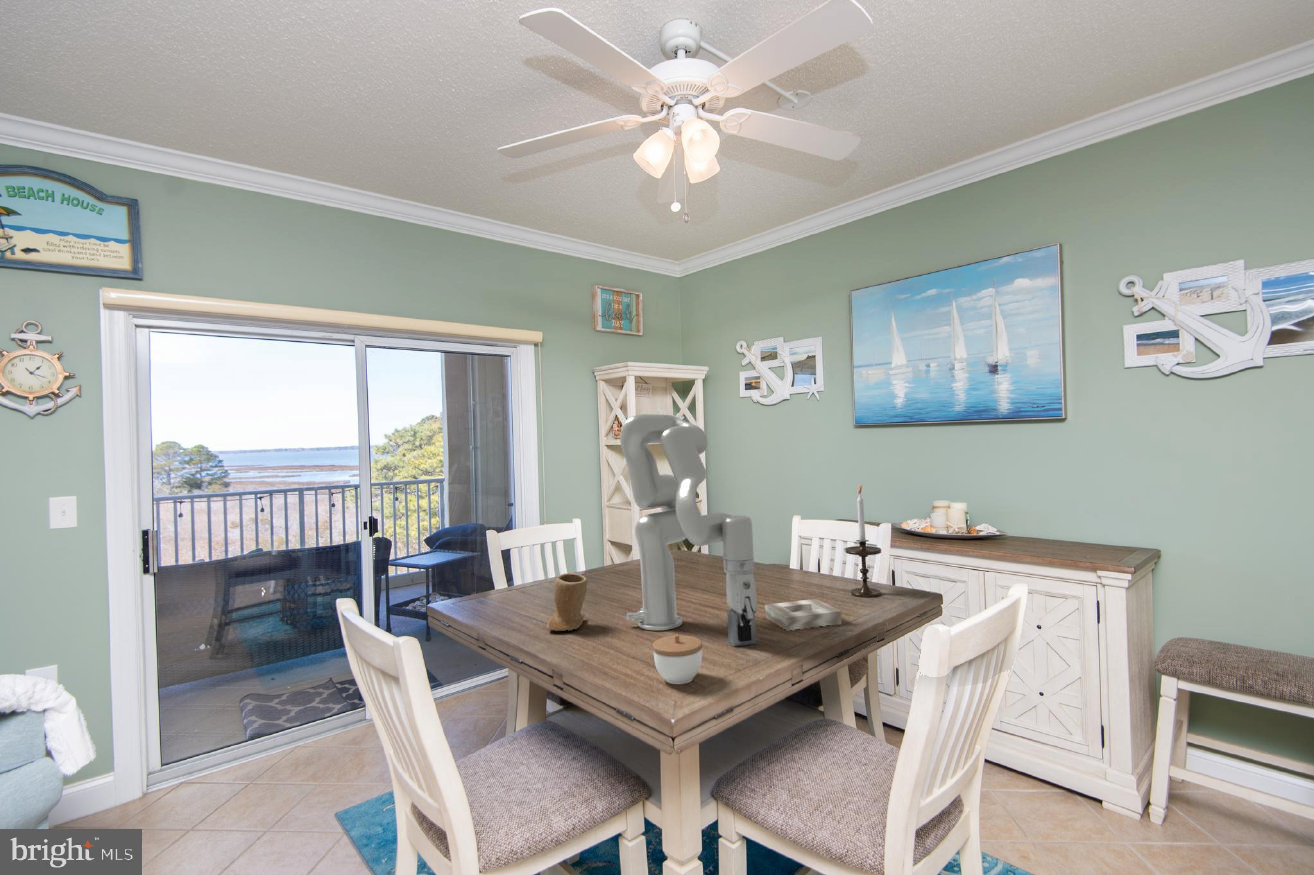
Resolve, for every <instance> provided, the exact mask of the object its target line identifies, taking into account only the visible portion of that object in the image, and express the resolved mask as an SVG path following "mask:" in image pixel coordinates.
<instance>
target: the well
mask: <svg viewBox="0 0 1314 875" xmlns="http://www.w3.org/2000/svg"><path fill="white" fill-rule="evenodd" d="M764 610H765V618H766V619H768V620H769V621H771V622H773V624H775V623H776V624H775V625H777V626H778V625H779V626H778V627H780V628H781V627H782V630H784V629H785V630H784V631H785V632H790V630H792V631H796V630H795V629H800V630H804V628H807V629H811V628H810V627H815V628H820V627H819V626H823V627H827V626H826V625H830V626H836V625H837V626H838V625H842V611H841V610H839V609H837V608H835V607H833V606H832V605H829V604H827V603H825V602H823V601H821V600H819V599H817V598H813V599H812V598H811V599H810V598H809V599H805V600H804V599H803V600H794V601H785V602H778V603H770V604H764Z"/></svg>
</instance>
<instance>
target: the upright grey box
mask: <svg viewBox="0 0 1314 875" xmlns="http://www.w3.org/2000/svg"><path fill="white" fill-rule="evenodd" d="M742 611H743V612H745V610H742ZM726 612H727V635H728V638H727V639H728V643H729V644H731V645H732V647H738V646H740V647H741V646H747V645H753V644H757V632H756V615H755V614H756V613H754V612H752V614H753V619H752V620H751V638H752V639H751V641H745V642H740V641H739V636H738V625H739V615H738V613H737V612H736V611H735V610H731V609H727V610H726ZM745 616H746V615H742V619H743V617H745Z"/></svg>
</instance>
